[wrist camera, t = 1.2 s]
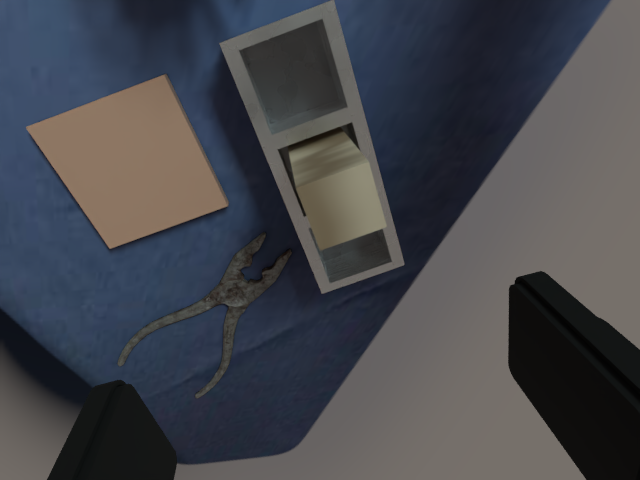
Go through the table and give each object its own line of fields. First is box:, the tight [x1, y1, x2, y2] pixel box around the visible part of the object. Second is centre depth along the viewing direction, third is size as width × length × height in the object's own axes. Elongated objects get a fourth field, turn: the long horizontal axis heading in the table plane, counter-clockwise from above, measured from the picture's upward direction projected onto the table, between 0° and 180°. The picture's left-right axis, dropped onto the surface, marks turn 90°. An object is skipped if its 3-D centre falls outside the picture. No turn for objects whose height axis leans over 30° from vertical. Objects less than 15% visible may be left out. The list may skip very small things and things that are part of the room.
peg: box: [288, 127, 387, 251], centre depth 26 cm, size 4×4×10 cm
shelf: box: [219, 0, 405, 294], centre depth 29 cm, size 7×19×4 cm, turn 18°
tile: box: [26, 74, 229, 249], centre depth 29 cm, size 10×10×1 cm
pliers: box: [118, 232, 292, 398], centre depth 36 cm, size 10×1×20 cm
